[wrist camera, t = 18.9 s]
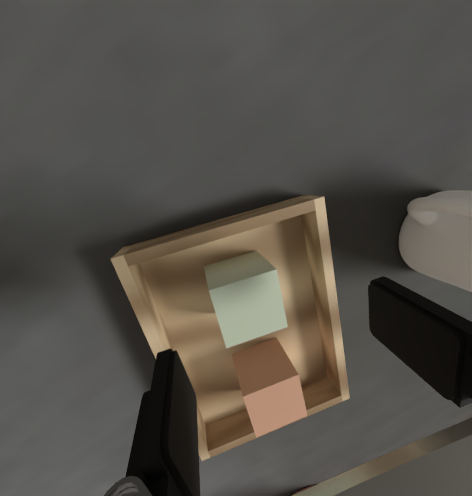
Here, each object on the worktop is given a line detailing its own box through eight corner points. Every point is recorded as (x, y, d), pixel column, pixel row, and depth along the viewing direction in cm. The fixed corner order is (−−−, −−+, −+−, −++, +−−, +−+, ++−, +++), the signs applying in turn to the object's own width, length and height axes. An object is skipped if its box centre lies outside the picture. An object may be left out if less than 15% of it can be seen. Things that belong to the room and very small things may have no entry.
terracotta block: (231, 354, 21) (242, 396, 17) (276, 337, 21) (298, 374, 17) (243, 389, 22) (256, 437, 18) (285, 373, 23) (307, 415, 19)
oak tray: (123, 246, 17) (110, 258, 14) (303, 195, 19) (324, 196, 16) (200, 427, 23) (201, 461, 20) (331, 374, 25) (349, 398, 22)
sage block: (203, 266, 18) (208, 290, 14) (256, 250, 19) (276, 269, 14) (217, 313, 19) (226, 348, 15) (266, 297, 20) (287, 327, 16)
